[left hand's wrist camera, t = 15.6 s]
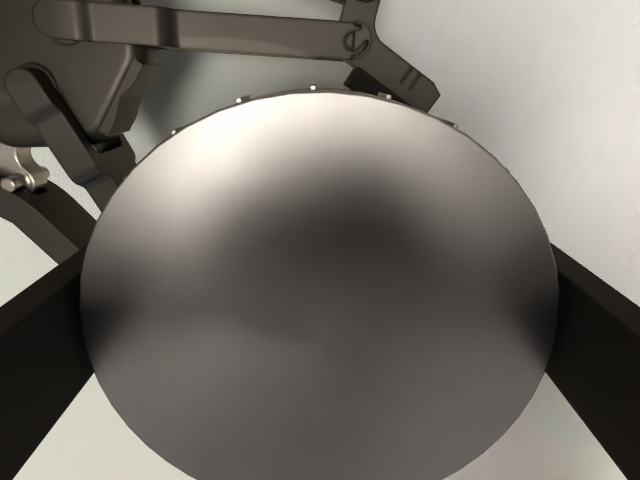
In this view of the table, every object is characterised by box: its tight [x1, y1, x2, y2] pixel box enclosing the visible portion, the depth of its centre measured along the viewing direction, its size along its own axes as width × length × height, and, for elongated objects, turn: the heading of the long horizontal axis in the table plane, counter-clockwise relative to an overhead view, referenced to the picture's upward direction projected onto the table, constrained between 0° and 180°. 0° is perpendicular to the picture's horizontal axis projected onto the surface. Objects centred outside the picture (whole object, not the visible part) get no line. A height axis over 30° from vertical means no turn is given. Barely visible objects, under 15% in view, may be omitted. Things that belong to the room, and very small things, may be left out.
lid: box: [79, 84, 559, 480], centre depth 11 cm, size 11×11×2 cm
